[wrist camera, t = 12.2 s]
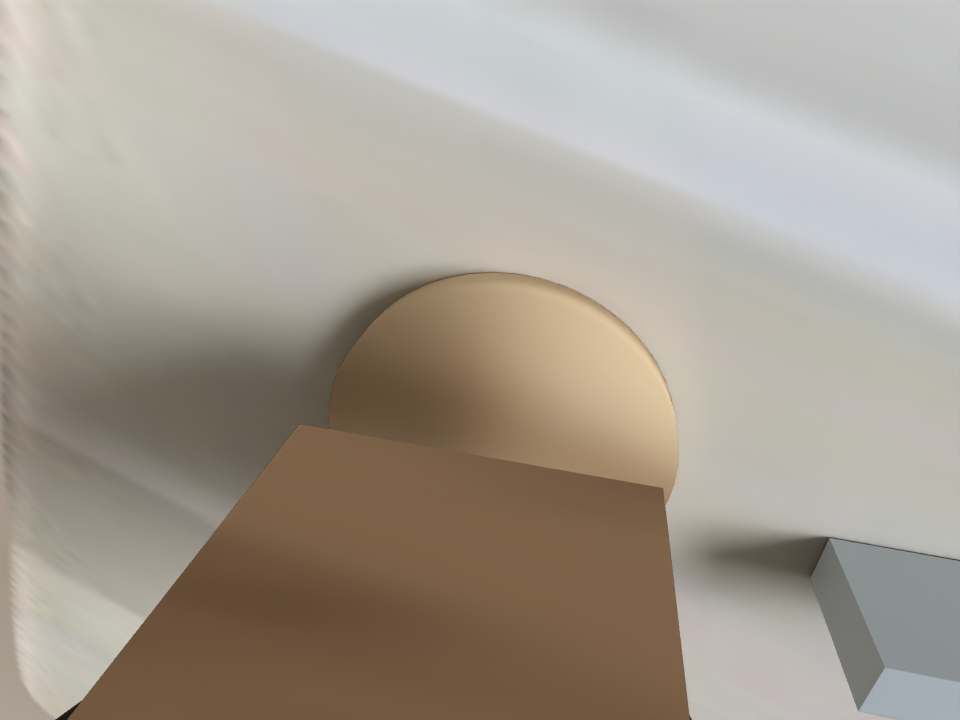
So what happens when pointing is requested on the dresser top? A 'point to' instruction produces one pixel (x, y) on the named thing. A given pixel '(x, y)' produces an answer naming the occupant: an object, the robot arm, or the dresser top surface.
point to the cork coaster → (511, 380)
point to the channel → (893, 628)
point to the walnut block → (413, 597)
